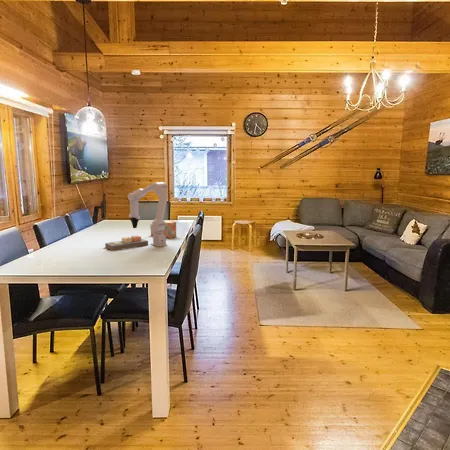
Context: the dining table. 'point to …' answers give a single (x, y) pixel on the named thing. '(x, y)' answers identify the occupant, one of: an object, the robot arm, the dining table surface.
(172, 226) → the stack of blocks
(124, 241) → the cream key
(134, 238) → the terracotta key
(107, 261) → the dining table surface
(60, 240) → the dining table surface
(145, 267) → the dining table surface
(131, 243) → the board
